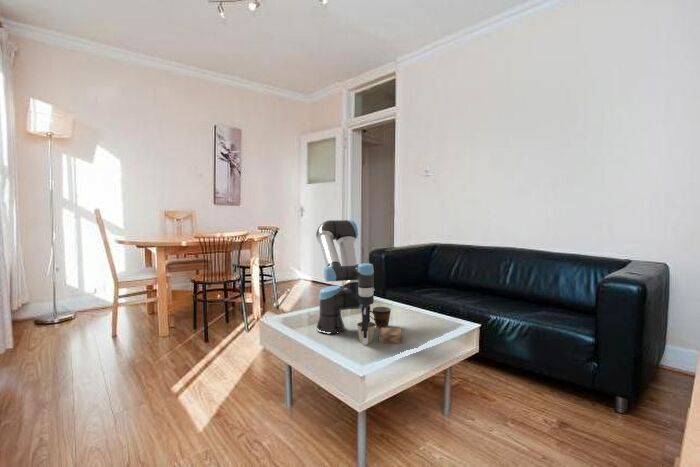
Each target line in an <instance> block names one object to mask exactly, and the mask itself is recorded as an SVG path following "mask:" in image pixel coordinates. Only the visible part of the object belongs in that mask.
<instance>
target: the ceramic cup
mask: <svg viewBox="0 0 700 467" xmlns="http://www.w3.org/2000/svg"><path fill="white" fill-rule="evenodd" d="M391 310H392V309H391V307H388V306H376V307H373V308H372V310H370V313H371V314H372V315H373V316H371V315H370V319H372V320H373V321H374V323H375V324H376V326H375V328H377V329H380V328H389V322H390V316H391ZM373 317H374V318H373Z"/></svg>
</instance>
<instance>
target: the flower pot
mask: <svg viewBox="0 0 700 467" xmlns="http://www.w3.org/2000/svg"><path fill="white" fill-rule="evenodd" d="M356 326H357V329H358V336H359V337H358V338H359V342H360V343H361V344H362V331H361V330H362V321H359V322H357V323H356ZM375 328H376V324H375V322H372V321H370V322H368V344H371V343H373V341H374V340H373V339H374V331H375ZM364 329H366V328H364Z"/></svg>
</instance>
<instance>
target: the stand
mask: <svg viewBox="0 0 700 467" xmlns="http://www.w3.org/2000/svg"><path fill="white" fill-rule="evenodd" d="M378 340H379V343H381V344H382V343H384V344H403V328H402V327H401V328H400V327H387V328H379V334H378Z"/></svg>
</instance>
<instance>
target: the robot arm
mask: <svg viewBox="0 0 700 467" xmlns="http://www.w3.org/2000/svg"><path fill="white" fill-rule="evenodd" d="M358 229H359V228H358V226H357V224H356V222H355V221H354V220H351V219H341V220H338V219H337V220H335V219H334V220H332V219H331V220H326V221H324V222H322V223H321V224H320V225H319V226H318V228H317V230H316V234H315V235H316V241H317V243H318V244H320V249H321V252H322V256H323V260H324V263H325V266H326V267H324V269H323V275H324V276H323V277H324V280H325V281H326V282H332V283H333V282H344V284H343V285H341V286H342V287H341V286H340V285H329V286H325V287H323V288H321V289H320V290H319V293H318V294H319V297H318V299H319V300H318V301H319V304H318V305H319V317H318V319H317V324H316V329H317V328H318V329H319V330H321V331H325V332H331V333H337V332H341V333H343V332H344V331H345V322H344V321H343V317H342V311H347V310H359V309H361V316H362V318H361V322H362V330H361V331H362V343H361V344H362V345H369V343H368V322H371V317H370V316H371V312H370V311H371V305H373V304H374V302H375V300H374V299H375V298H374V291H376V290H375V288H374V278H375V277H374V276H375V275H374V273H375V271H374V265H373V263H367V262H365V263H364V262H363V263H358V261H357V257H356V249H355V248H356V247H355V242H356V241H357V239H358V236H359V233H358V232H359V231H358ZM334 241H335V242H336V244H337V246H339V252H340V258H339V255H338V252H337V249H336V244H335V242H334ZM340 259H341V260H340ZM364 328H366V329H364ZM342 331H343V332H342ZM337 334H338V333H337Z"/></svg>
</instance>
